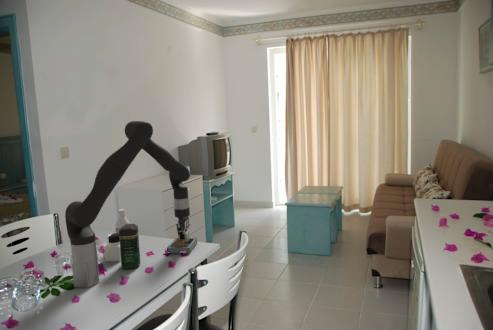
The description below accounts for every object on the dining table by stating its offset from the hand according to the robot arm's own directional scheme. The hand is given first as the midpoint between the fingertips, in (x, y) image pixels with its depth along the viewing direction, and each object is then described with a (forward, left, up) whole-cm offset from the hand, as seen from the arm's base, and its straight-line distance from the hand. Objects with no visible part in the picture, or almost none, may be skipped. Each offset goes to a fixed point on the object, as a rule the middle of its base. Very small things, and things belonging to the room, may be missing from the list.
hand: (184, 239), depth 199 cm
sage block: (0, 0, 0) cm, 0 cm away
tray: (-3, 0, -3) cm, 5 cm away
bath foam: (-3, +30, -4) cm, 30 cm away
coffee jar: (-25, +17, -4) cm, 31 cm away
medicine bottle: (-17, +28, -4) cm, 33 cm away
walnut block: (-6, 0, -3) cm, 7 cm away
